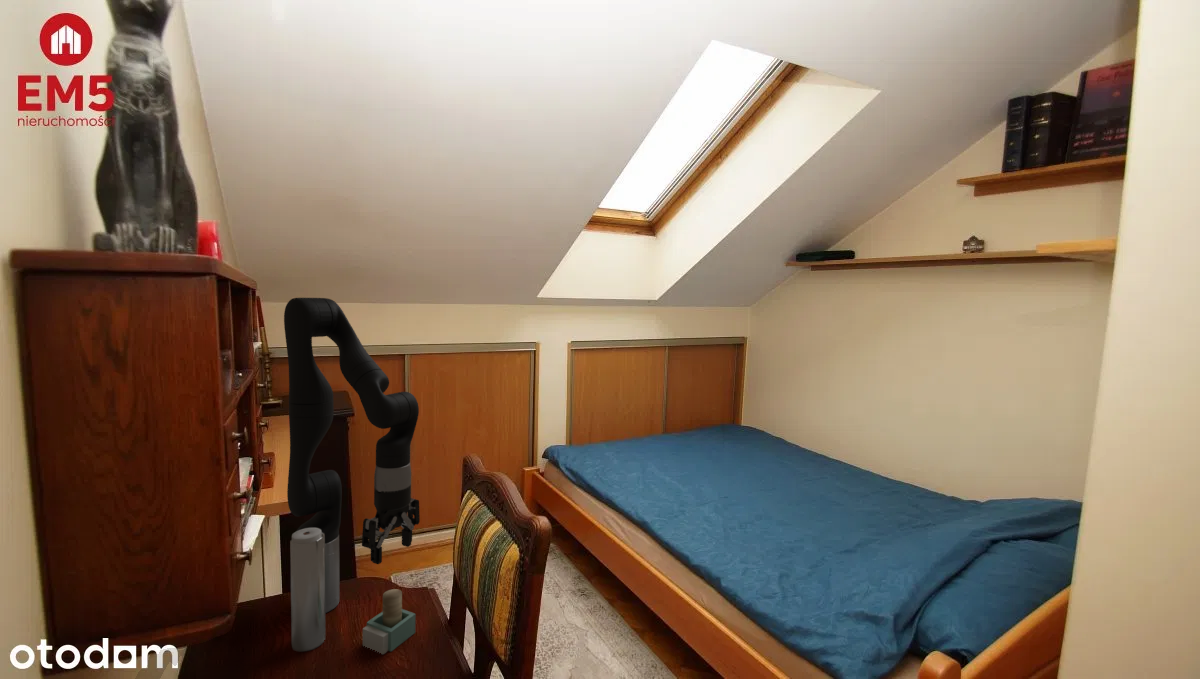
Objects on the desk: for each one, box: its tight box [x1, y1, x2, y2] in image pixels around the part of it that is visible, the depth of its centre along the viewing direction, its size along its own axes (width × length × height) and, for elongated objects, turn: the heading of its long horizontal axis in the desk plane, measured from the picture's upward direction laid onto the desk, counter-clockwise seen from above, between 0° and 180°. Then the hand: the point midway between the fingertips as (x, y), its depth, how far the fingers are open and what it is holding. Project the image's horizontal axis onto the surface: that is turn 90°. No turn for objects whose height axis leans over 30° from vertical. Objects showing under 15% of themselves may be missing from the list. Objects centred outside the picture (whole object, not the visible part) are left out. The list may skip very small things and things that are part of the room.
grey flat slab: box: [362, 624, 389, 655], centre depth 112 cm, size 6×1×4 cm, turn 66°
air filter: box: [289, 528, 326, 653], centre depth 113 cm, size 6×6×25 cm
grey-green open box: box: [366, 608, 416, 652], centre depth 116 cm, size 7×7×4 cm
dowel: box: [382, 588, 403, 628], centre depth 116 cm, size 4×4×9 cm
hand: (392, 553), depth 115 cm, fingers open, 8 cm apart
